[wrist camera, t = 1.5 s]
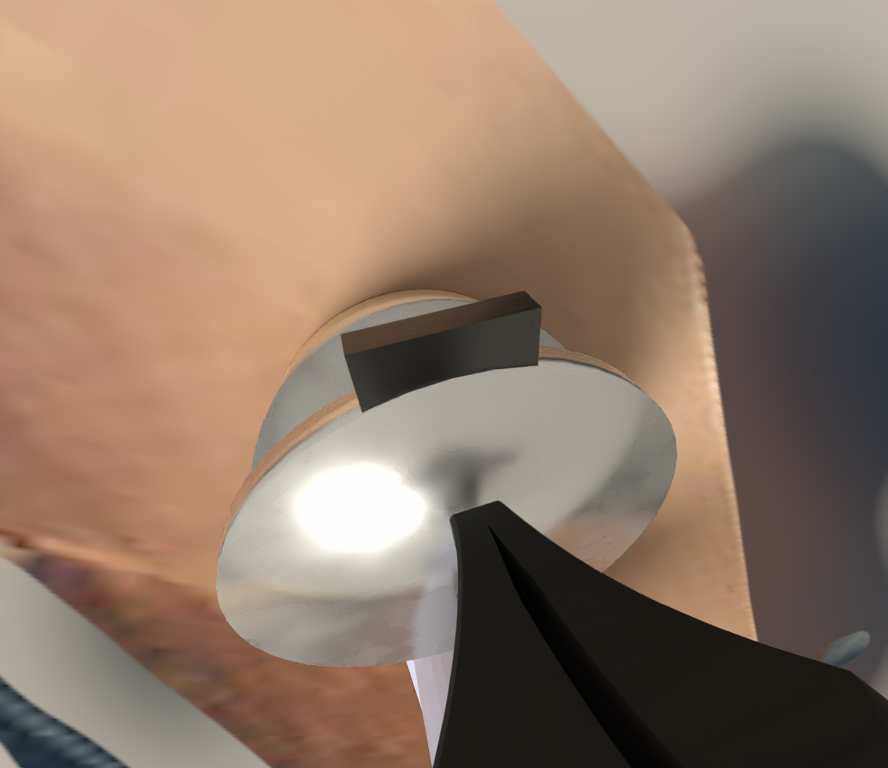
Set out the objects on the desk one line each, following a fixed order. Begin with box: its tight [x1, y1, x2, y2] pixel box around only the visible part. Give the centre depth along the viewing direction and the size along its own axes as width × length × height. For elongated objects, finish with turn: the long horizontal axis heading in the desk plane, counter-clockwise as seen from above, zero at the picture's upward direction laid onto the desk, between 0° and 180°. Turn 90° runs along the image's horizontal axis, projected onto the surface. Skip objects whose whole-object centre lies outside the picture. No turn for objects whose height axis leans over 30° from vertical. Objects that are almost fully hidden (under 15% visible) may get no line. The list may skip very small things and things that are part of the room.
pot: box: [252, 289, 566, 471], centre depth 18 cm, size 15×14×4 cm
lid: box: [216, 291, 677, 667], centre depth 13 cm, size 16×15×2 cm
